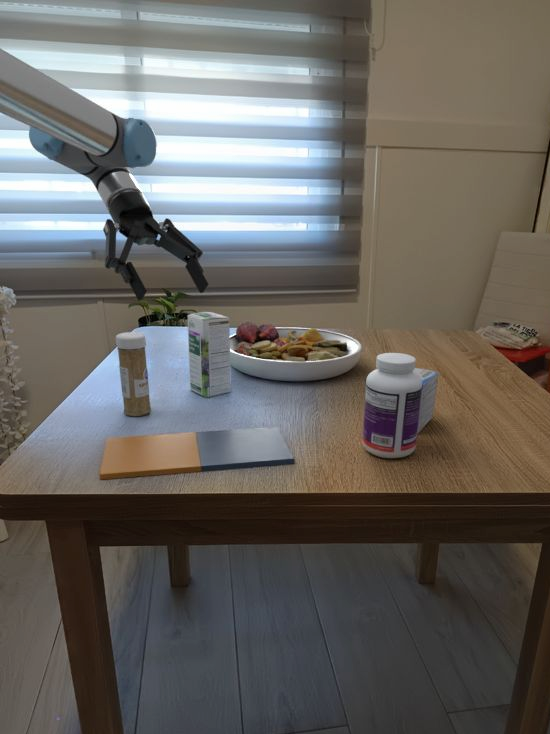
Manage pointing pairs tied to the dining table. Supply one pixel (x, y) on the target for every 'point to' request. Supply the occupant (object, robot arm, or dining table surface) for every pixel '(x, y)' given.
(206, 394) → the syrup box
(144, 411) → the sprinkles bottle
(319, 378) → the bowl
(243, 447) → the sorting board
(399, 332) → the dining table surface
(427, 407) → the medicine box
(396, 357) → the pill bottle
